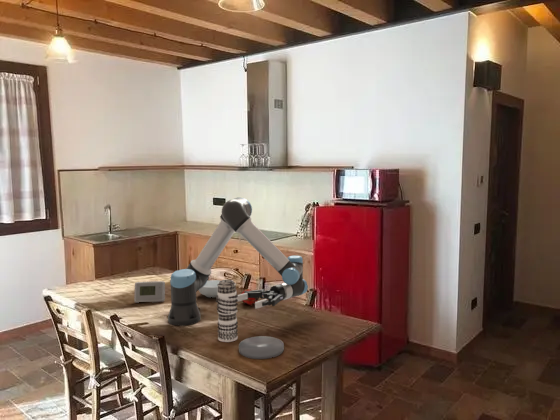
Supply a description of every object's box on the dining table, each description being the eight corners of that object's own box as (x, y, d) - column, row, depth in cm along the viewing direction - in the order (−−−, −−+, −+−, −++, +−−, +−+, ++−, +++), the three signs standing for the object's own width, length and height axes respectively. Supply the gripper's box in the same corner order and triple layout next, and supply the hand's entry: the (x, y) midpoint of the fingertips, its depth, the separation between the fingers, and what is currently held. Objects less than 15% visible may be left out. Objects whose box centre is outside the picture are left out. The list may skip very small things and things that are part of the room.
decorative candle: (238, 333, 200) (237, 277, 197) (239, 341, 190) (238, 283, 188) (217, 334, 198) (215, 278, 196) (217, 343, 189) (215, 284, 187)
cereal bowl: (230, 298, 252) (230, 285, 251) (200, 301, 247) (199, 288, 246) (225, 290, 268) (224, 278, 267) (196, 292, 263) (196, 280, 262)
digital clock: (132, 303, 244) (131, 284, 243) (139, 298, 253) (138, 279, 252) (162, 304, 242) (161, 284, 241) (167, 299, 251) (167, 280, 250)
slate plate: (237, 359, 173) (237, 354, 173) (239, 341, 191) (239, 336, 190) (285, 358, 174) (285, 353, 174) (282, 340, 192) (282, 335, 191)
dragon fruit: (242, 303, 247) (257, 311, 239) (233, 297, 241) (249, 305, 233) (249, 289, 249) (265, 297, 241) (241, 283, 243) (257, 291, 235)
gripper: (299, 305, 205) (264, 317, 191) (263, 294, 224) (228, 304, 209) (299, 289, 205) (264, 299, 190) (263, 279, 223) (228, 288, 208)
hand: (245, 302), depth 200 cm, fingers open, 13 cm apart
